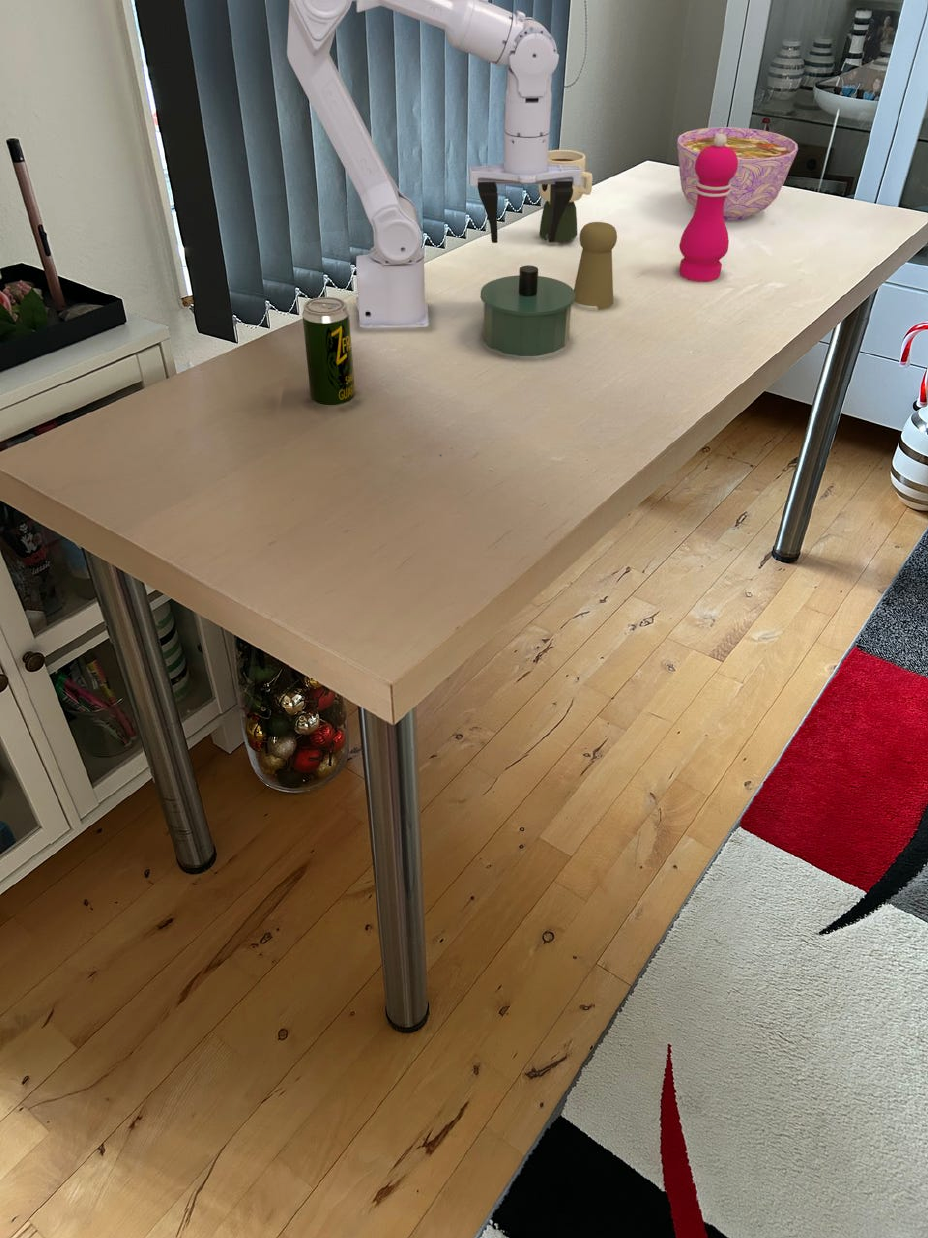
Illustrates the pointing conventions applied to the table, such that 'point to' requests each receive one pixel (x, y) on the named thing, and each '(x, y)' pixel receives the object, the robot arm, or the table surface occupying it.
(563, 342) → the pot
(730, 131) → the bowl of food
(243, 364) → the table surface
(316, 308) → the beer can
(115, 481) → the table surface
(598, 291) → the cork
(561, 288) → the lid
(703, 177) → the pepper mill
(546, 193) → the character mug
